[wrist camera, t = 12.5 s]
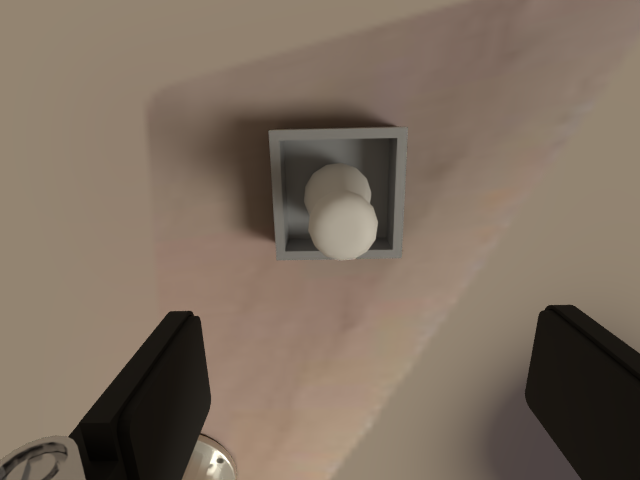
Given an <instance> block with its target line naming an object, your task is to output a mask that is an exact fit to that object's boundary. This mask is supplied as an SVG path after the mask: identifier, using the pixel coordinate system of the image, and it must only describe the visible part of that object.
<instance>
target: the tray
mask: <svg viewBox="0 0 640 480" xmlns="http://www.w3.org/2000/svg"><path fill="white" fill-rule="evenodd" d="M268 131H269V147H270V163H271V179H272V195H273V211H274V227H275V243H276V259H277V260H323V259H333V258H329V257H326V256H325V255H324V254H323V253H322V252H320V251H319V250H318V249H317V248H316V247H315V245H314V243H313V241H312V238H311V236H310V233H309V231H308V228H309V218H310V215H309V213H308V211H307V208H306V206H305V203H304V195H305V186H306V184H307V183H308V181H309V179H310V178H311V176H312V174H313V173H314V172H316V171H318V170H319V169H321V168H322V167H324V166H325V165H329V164H337V163H343V164H346V165H349V166H352V167H355V168H357V169H358V170H359V171H360V172H361V173H362V174H363V175H364V176H365V177H366V178H367V181H368V184H369V187H370V190H371V200H370V204H371V205H372V206H373V208H374V211H375V214H376V217H377V221H378V226H377V233H376V240H375V241H374V242H373V244H372V245H371V247H370V248H369V249H368V251H367V252H365V253H364V254H362V255H360V256H359V257H357V258H355V259H380V258H402V240H403V219H404V199H405V178H406V158H407V137H408V127H399V126H391V127H348V128H305V129H274V130H268Z"/></svg>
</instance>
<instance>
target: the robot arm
mask: <svg viewBox="0 0 640 480" xmlns="http://www.w3.org/2000/svg"><path fill="white" fill-rule="evenodd" d="M525 398H526V402H527V404H528V406H529V408H530V409H531V410H532V412H533V413H534V414H535V416H536V417H537V419H538V420H539V421H540V423H541V424H542V425H543V427H544V428H545V430H546V431H547V432H548V434H549V435H550V437H551V438H552V439H553V441H554V442H555V443H556V445H557V446H558V447H559V449H560V450H561V452H562V453H563V455H564V456H565V457H566V459H567V460H568V461H569V463H570V464H571V466H572V467H573V468H574V470H575V471H576V473H577V474H578V475H579V477H580V478H581V479H582V480H640V354H639V353H638V352H637V351H635V350H634V349H633V348H631V347H630V346H628V345H627V344H626V343H624V342H623V341H621V340H620V339H619V338H618V337H616V336H615V335H613V334H612V333H611V332H609V331H608V330H607V329H605V328H604V327H603V326H601V325H600V324H598V323H597V322H596V321H594V320H593V319H592V318H590V317H589V316H588V315H586V314H585V313H583V312H582V311H581V310H579V309H578V308H577V307H575V306H573V305H549V306H547V307H546V308H545V310H544V311H541V312H540V314H539V316H538V322H537V328H536V333H535V339H534V344H533V350H532V356H531V361H530V367H529V373H528V378H527V384H526V389H525ZM210 405H211V393H210V386H209V378H208V371H207V364H206V357H205V349H204V342H203V335H202V327H201V321H200V318H199V316H194V314H193V312H192V311H170V312H169V313H168V314H167V315H166V316H165V318H164V319H163V320H162V321H161V322H160V324H159V325H158V326H157V327H156V329H155V330H154V331H153V332H152V334H151V335H150V336H149V337H148V338H147V340H146V341H145V342H144V343H143V345H142V346H141V347H140V348H139V350H138V351H137V352H136V353H135V355H134V356H133V357H132V358H131V360H130V361H129V362H128V363H127V364H126V366H125V367H124V368H123V369H122V371H121V372H120V373H119V374H118V375H117V377H116V378H115V379H114V380H113V382H112V383H111V384H110V385H109V387H108V388H107V389H106V390H105V391H104V393H103V394H102V395H101V397H100V398H99V399H98V400H97V401H96V403H95V404H94V405H93V406H92V408H91V409H90V410H89V411H88V413H87V414H86V415H85V416H84V417H83V419H82V420H81V421H80V422H79V424H78V425H77V427H76V428H75V429H74V430H73V432H72V433H71V434H70V435H69V437H67V436H50V437H45V438H41V439H38V440H35V441H32V442H30V443H27V444H25V445H23V446H21V447H19V448H18V449H16V450H14V451H12V452H11V453H10V454H8V455H6V456H5V457H4V458H2V459H1V460H0V480H236V478H237V471H236V466H235V463H234V461H233V459H232V457H231V456H230V454H229V453H228V452H227V451H226V450H225V449H224V448H223V447H222V446H221V445H219V444H218V443H217V442H215V441H213V440H212V439H210V438H208V437H205V436H202V435H200V432H201V430H202V427H203V425H204V422H205V420H206V417H207V415H208V412H209V409H210Z"/></svg>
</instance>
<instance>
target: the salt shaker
mask: <svg viewBox="0 0 640 480" xmlns="http://www.w3.org/2000/svg"><path fill="white" fill-rule="evenodd" d="M370 200H371V190H370V187H369V184H368V181H367V178H366V177H365V176H364V175H363V174H362V173H361V172H360V171H359V170H358V169H357V168H355V167H352V166H349V165H346V164H343V163H337V164H329V165H325V166H324V167H322V168H321V169H319V170H318V171H316V172H314V173H313V174H312V176H311V178H310V179H309V181H308V183H307V184H306V186H305V195H304V203H305V206H306V208H307V211H308V213H309V215H310V218H309V228H308V231H309V233H310V236H311V238H312V241H313V243H314V245H315V247H316V248H317V249H318V250H319V251H320V252H322V253H323V254H324V255H325V256H326V257H329V258H333V259H336V260H339V261H341V260H351V259H355V258H357V257H359V256H360V255H362V254H364V253H365V252H367V251H368V249H369V248H370V247H371V245H372V244H373V242H374V241H375V240H376V233H377V226H378V221H377V217H376V214H375V211H374V208H373V206H372V205H371V204H370Z"/></svg>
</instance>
